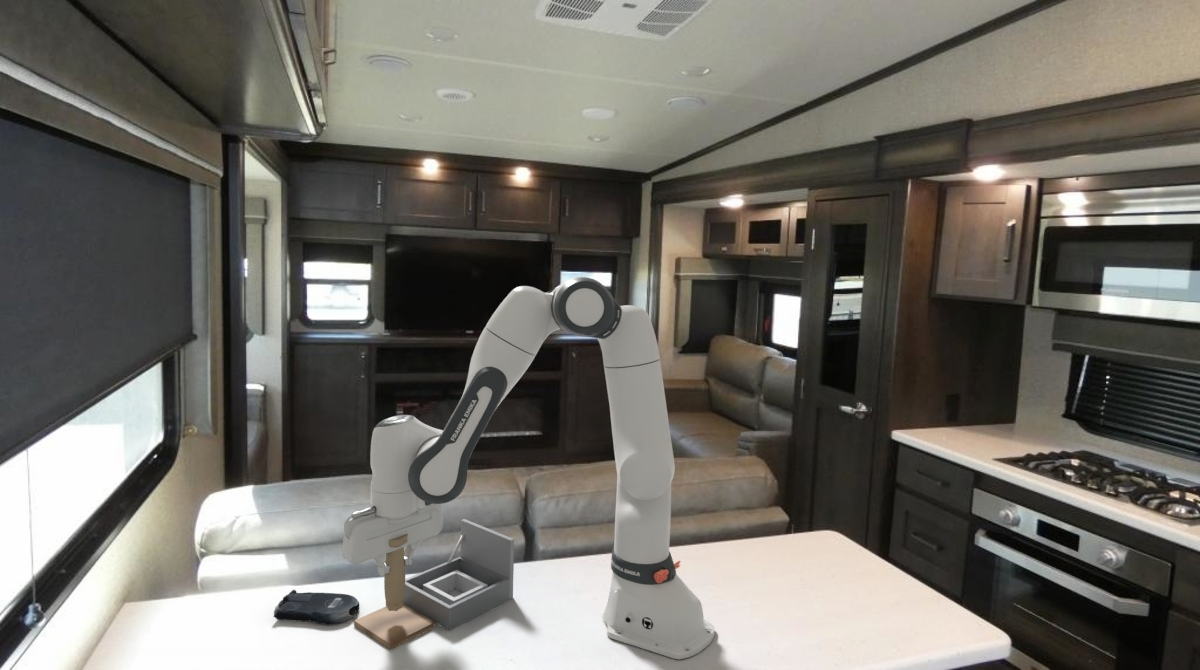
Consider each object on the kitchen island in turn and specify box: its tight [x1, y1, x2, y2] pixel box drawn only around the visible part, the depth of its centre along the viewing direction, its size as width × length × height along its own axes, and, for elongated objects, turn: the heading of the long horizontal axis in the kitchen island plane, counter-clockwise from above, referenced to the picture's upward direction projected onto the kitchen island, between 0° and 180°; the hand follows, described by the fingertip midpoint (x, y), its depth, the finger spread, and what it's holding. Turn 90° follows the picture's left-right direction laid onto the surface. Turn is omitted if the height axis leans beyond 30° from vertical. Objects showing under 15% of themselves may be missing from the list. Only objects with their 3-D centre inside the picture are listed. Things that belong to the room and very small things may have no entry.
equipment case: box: [403, 518, 515, 631], centre depth 138 cm, size 16×17×13 cm
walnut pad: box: [353, 604, 436, 650], centre depth 128 cm, size 12×10×1 cm
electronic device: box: [273, 589, 360, 626], centre depth 132 cm, size 9×6×15 cm
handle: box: [383, 534, 408, 611], centre depth 127 cm, size 5×6×15 cm
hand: (394, 569), depth 127 cm, fingers closed on handle, 3 cm apart
